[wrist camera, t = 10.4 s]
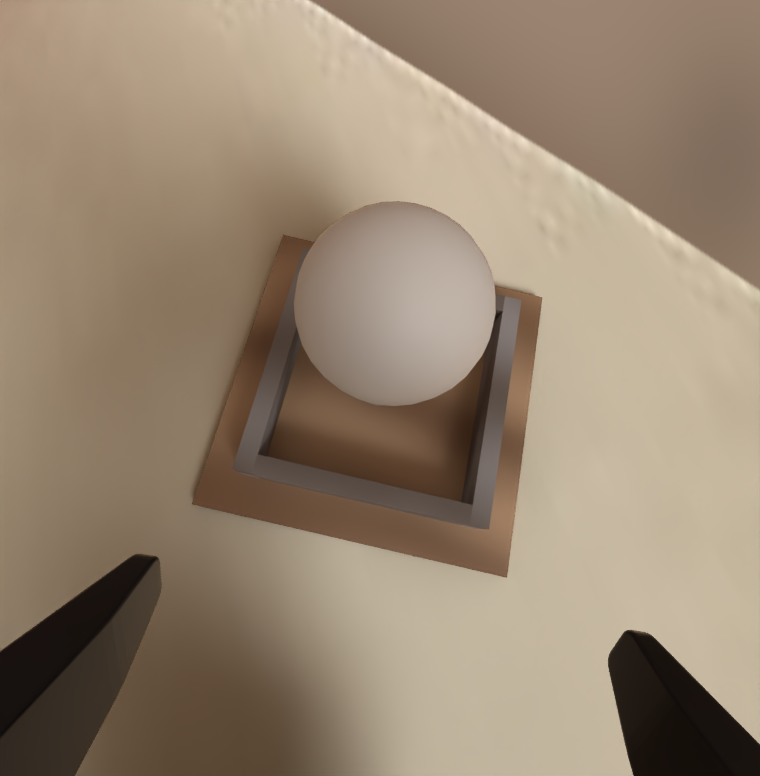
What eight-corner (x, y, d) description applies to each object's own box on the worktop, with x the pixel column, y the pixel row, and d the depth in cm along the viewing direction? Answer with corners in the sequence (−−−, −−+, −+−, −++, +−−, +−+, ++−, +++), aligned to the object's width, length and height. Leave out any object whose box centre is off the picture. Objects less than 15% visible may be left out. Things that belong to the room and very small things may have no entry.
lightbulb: (328, 316, 22) (311, 130, 12) (448, 339, 22) (537, 174, 12) (300, 434, 20) (251, 338, 10) (431, 459, 21) (518, 389, 10)
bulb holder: (502, 576, 20) (524, 583, 18) (195, 504, 20) (175, 502, 17) (538, 301, 24) (559, 277, 22) (284, 240, 24) (278, 209, 21)
